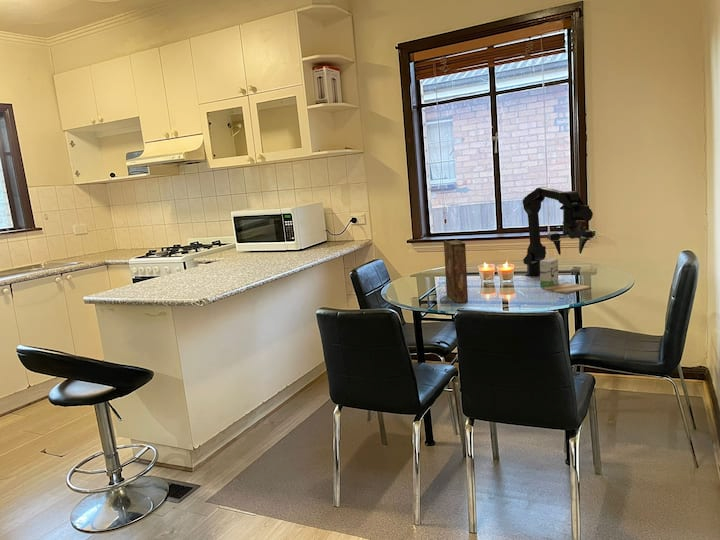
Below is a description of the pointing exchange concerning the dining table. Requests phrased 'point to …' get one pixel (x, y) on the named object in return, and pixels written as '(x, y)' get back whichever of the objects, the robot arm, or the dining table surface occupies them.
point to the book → (456, 271)
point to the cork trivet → (566, 288)
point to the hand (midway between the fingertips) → (569, 254)
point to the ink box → (548, 272)
